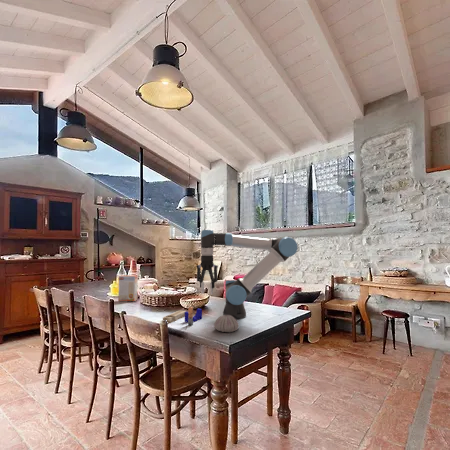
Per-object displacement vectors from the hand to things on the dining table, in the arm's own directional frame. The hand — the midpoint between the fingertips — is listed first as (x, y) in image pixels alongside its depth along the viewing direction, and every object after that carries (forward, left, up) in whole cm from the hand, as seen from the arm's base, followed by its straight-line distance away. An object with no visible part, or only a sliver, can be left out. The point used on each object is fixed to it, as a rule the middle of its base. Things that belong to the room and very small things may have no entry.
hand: (207, 293), depth 178 cm
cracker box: (+88, -37, -17) cm, 97 cm away
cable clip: (+9, 0, -17) cm, 19 cm away
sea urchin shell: (-17, +12, -17) cm, 27 cm away
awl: (+6, +10, -17) cm, 20 cm away
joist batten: (+21, +1, -17) cm, 27 cm away
